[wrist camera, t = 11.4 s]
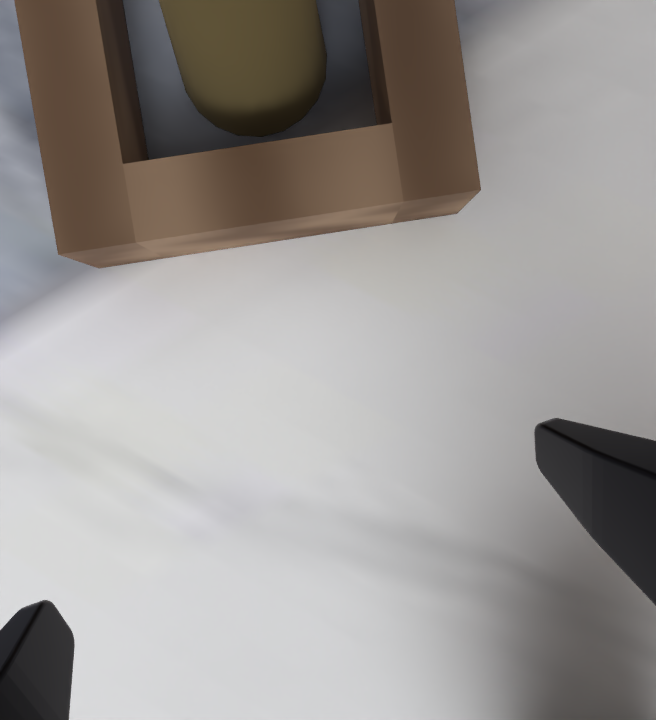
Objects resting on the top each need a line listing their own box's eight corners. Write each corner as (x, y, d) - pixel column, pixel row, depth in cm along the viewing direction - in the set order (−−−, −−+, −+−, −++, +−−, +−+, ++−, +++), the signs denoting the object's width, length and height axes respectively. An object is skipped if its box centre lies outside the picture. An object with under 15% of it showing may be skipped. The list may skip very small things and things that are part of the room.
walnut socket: (403, -158, 19) (418, -251, 16) (456, 213, 20) (480, 189, 17) (36, -102, 19) (-18, -186, 16) (98, 268, 20) (58, 254, 17)
